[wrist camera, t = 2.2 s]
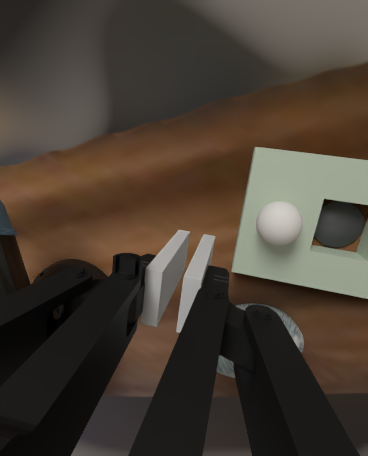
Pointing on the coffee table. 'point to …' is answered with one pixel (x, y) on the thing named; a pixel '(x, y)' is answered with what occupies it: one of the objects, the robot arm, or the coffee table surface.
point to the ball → (279, 223)
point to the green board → (307, 221)
